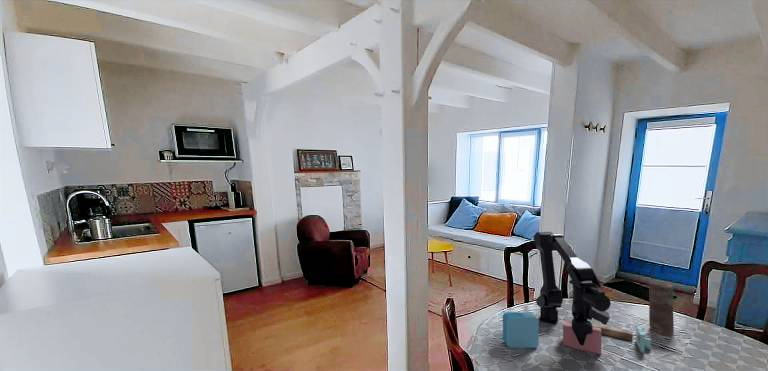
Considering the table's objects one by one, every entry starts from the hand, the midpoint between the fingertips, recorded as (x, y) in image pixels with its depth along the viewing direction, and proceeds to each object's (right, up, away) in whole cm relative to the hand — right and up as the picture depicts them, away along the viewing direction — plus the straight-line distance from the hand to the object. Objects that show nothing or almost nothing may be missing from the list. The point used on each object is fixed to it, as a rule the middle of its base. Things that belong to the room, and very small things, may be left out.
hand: (581, 339), depth 113 cm
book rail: (+15, -2, +9) cm, 18 cm away
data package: (-22, -4, +2) cm, 23 cm away
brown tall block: (+39, -2, +10) cm, 40 cm away
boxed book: (0, -3, 0) cm, 3 cm away
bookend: (+22, -3, -2) cm, 22 cm away
